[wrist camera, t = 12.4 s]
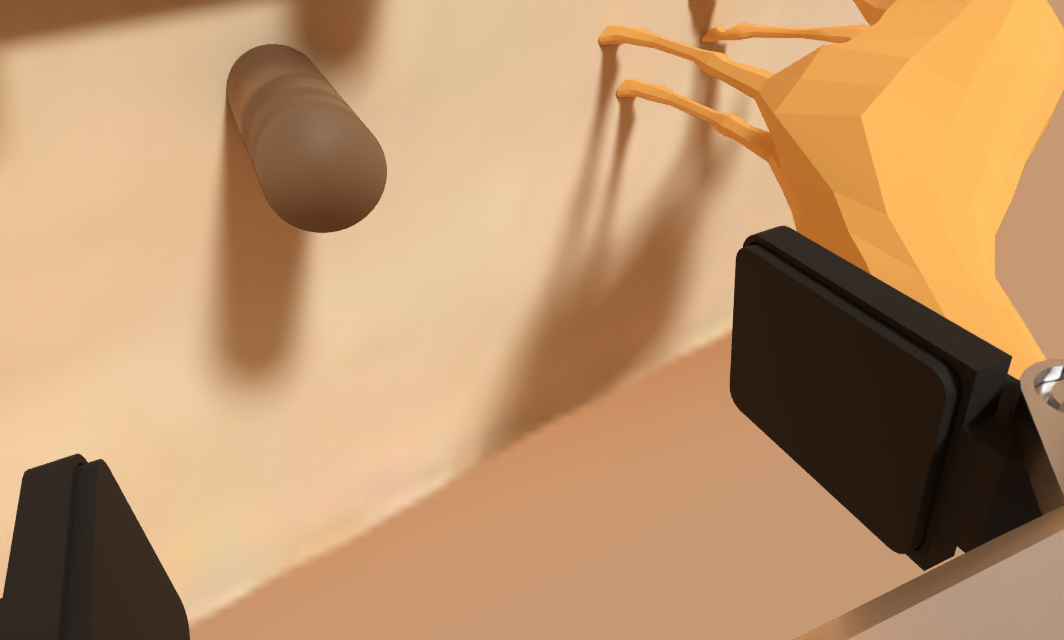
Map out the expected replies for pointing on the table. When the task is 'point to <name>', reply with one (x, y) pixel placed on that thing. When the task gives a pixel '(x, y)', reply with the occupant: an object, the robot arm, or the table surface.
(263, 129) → the leg peg
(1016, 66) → the giraffe
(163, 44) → the table surface
